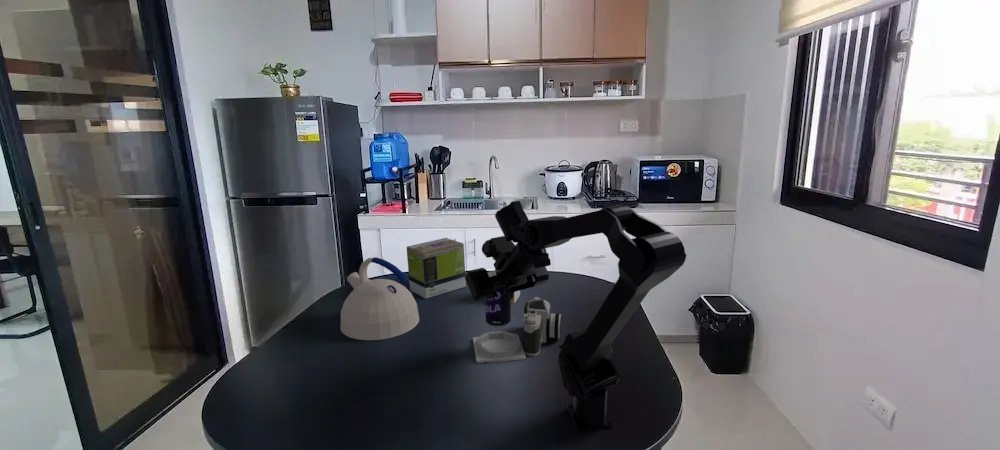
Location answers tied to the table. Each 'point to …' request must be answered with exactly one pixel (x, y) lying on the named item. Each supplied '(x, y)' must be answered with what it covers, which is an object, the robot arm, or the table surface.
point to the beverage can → (498, 307)
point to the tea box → (436, 267)
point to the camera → (539, 325)
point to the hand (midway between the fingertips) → (494, 294)
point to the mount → (498, 347)
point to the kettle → (378, 305)
